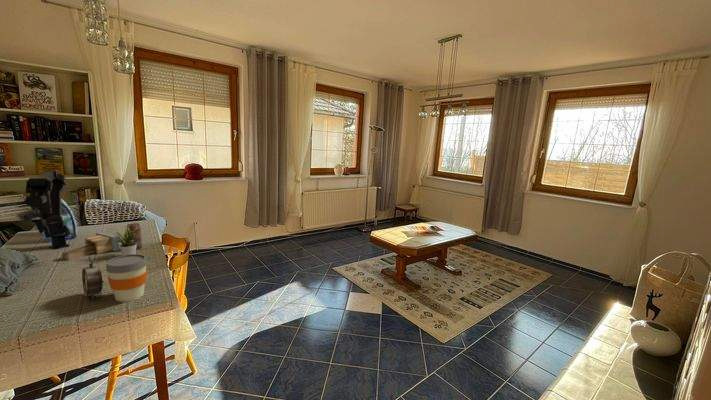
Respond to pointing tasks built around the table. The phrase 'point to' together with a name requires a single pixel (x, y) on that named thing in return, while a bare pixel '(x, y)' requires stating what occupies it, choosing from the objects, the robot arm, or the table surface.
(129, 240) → the house plant
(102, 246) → the block
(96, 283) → the alarm clock
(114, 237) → the backstop
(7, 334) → the table surface
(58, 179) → the robot arm
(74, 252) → the peg
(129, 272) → the reusable coffee cup
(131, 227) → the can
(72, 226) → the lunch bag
